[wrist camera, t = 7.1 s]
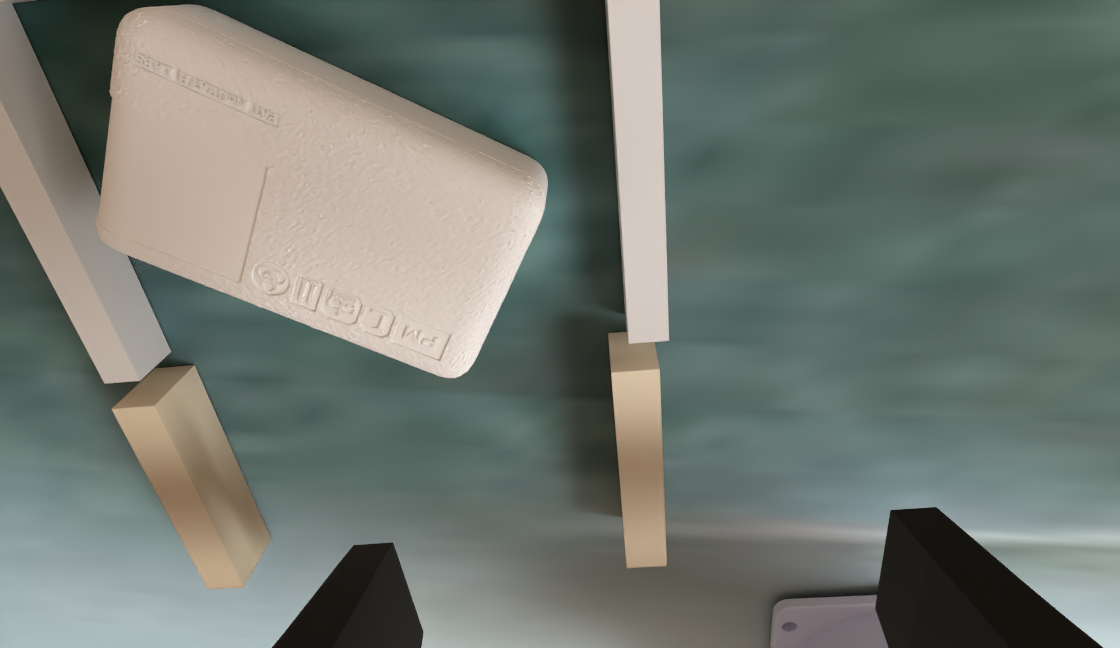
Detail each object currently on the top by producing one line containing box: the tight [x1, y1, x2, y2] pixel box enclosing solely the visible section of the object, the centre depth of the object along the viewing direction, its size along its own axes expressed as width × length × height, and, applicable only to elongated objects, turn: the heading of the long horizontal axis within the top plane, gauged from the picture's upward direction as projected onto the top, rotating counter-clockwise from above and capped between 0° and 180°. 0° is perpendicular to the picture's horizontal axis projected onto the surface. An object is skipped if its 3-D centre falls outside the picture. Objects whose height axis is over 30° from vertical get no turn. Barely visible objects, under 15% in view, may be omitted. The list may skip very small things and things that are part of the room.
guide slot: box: [112, 332, 667, 589], centre depth 19 cm, size 7×14×2 cm, turn 96°
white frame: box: [0, 0, 669, 384], centre depth 15 cm, size 10×15×2 cm, turn 96°
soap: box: [95, 4, 548, 378], centre depth 15 cm, size 9×6×3 cm, turn 65°
